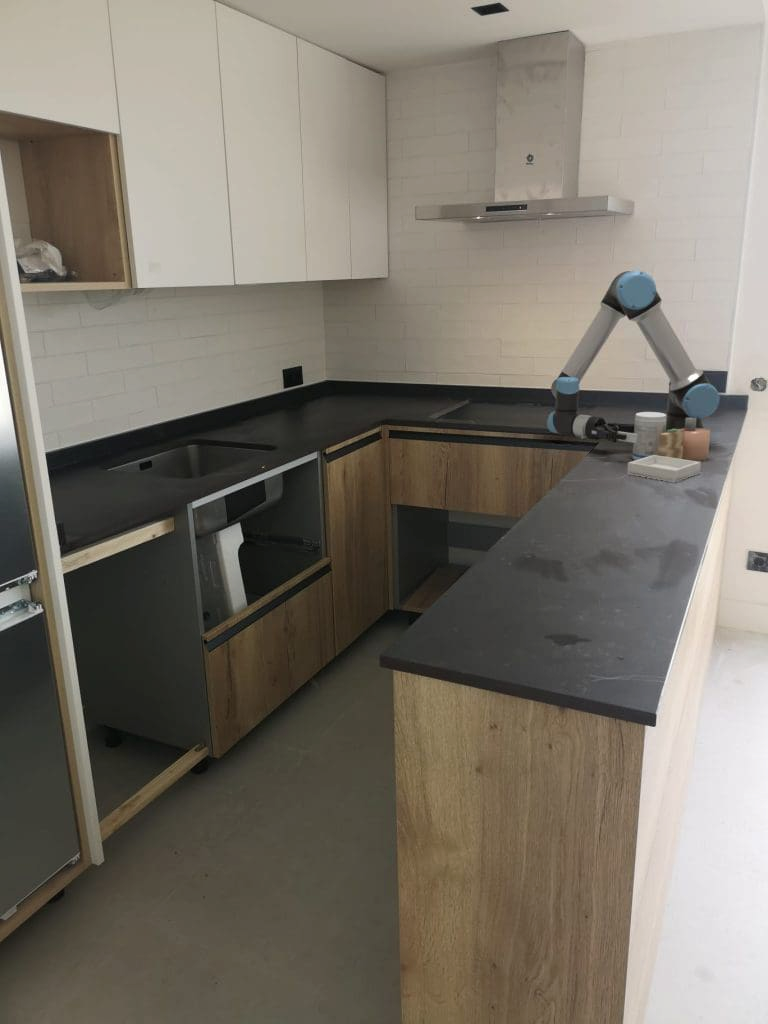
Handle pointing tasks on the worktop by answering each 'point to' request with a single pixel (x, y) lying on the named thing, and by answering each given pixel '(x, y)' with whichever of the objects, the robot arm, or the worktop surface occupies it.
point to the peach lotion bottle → (695, 441)
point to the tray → (664, 468)
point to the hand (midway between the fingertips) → (648, 435)
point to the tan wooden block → (671, 443)
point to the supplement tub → (648, 433)
